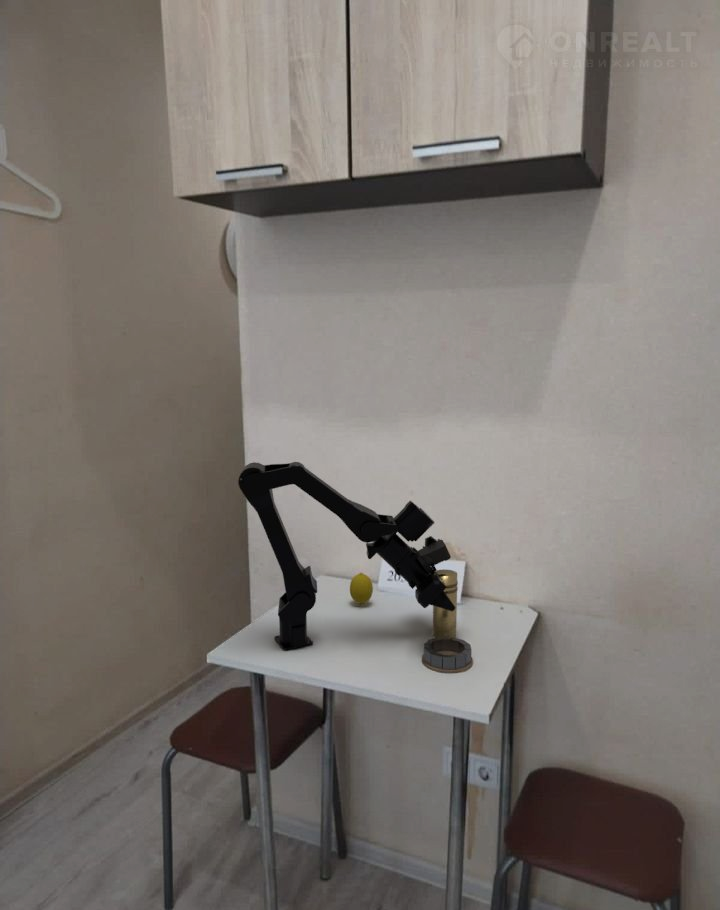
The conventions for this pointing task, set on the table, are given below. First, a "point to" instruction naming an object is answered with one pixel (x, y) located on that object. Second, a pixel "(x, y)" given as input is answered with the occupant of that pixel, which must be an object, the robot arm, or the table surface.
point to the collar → (447, 660)
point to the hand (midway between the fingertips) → (451, 604)
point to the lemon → (361, 588)
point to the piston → (441, 617)
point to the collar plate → (446, 670)
